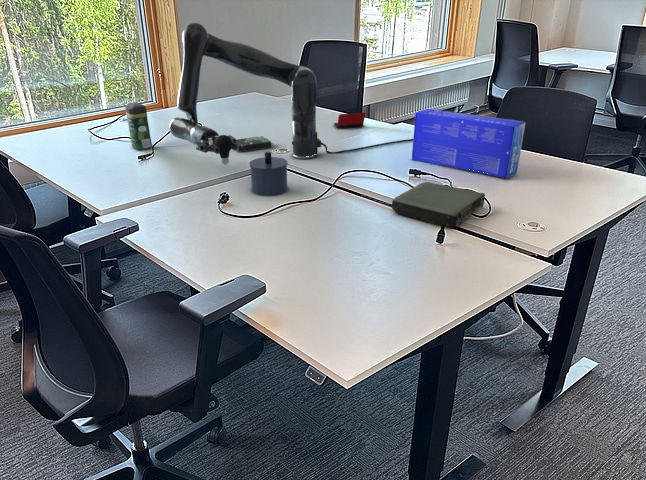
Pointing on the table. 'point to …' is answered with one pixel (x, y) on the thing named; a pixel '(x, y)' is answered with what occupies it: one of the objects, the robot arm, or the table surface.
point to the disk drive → (252, 143)
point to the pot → (269, 181)
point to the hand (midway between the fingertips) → (227, 148)
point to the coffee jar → (138, 126)
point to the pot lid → (268, 162)
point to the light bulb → (224, 147)
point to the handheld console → (350, 120)
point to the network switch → (438, 203)
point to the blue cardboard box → (468, 142)
